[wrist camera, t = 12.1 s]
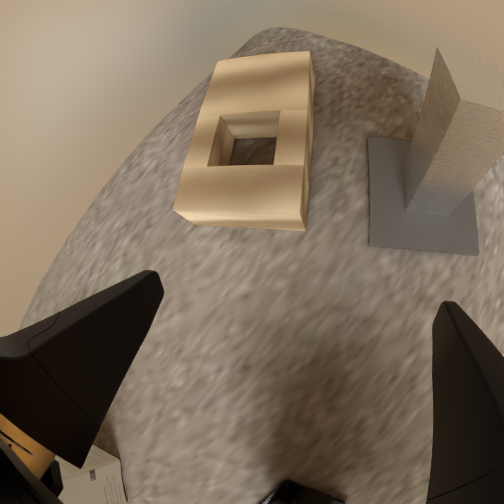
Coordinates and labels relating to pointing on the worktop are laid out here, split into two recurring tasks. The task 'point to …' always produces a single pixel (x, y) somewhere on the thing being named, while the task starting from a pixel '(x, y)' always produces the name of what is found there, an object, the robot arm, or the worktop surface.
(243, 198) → the wooden block with hole
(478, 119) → the steel bar
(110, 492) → the skincare box
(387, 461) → the worktop surface
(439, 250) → the rubber mat
